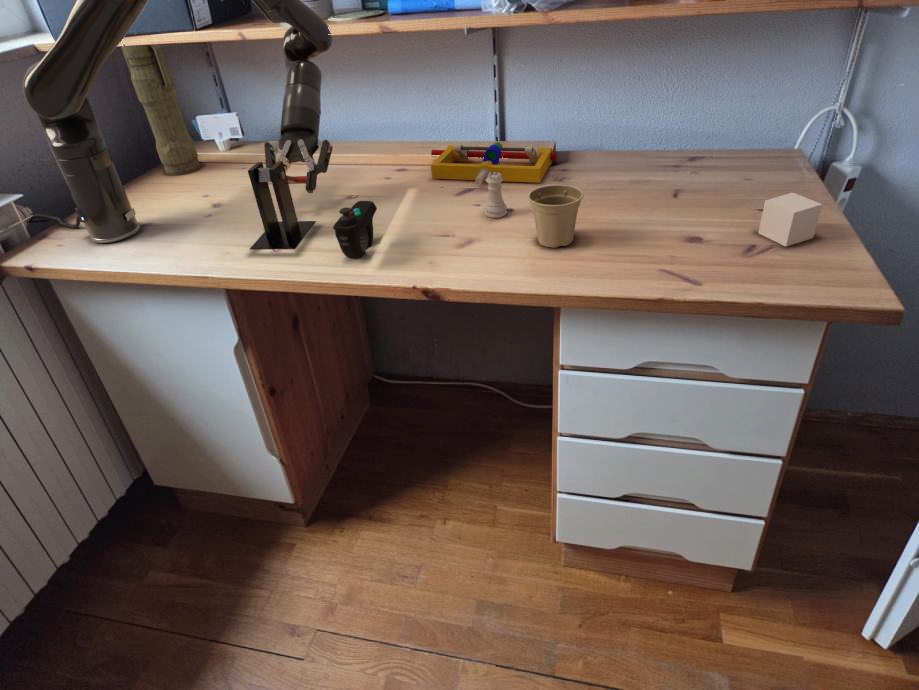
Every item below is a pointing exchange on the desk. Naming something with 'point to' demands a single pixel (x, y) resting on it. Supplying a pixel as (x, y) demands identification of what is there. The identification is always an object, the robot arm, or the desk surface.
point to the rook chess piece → (495, 197)
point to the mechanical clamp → (491, 163)
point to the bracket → (276, 232)
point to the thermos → (161, 107)
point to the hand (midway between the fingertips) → (294, 191)
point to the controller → (355, 229)
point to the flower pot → (555, 213)
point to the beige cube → (789, 219)
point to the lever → (265, 175)
